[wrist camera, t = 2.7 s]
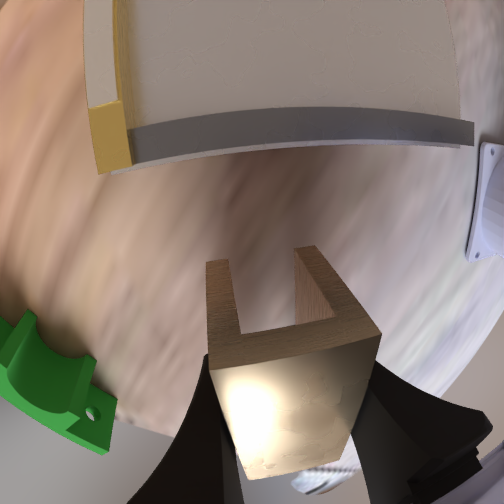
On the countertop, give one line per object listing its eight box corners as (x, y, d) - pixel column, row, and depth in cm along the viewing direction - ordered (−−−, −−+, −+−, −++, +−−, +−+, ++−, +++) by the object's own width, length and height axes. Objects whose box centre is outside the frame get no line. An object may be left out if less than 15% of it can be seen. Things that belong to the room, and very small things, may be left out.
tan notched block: (205, 261, 10) (208, 370, 6) (314, 245, 11) (382, 333, 6) (235, 395, 14) (248, 480, 9) (309, 381, 14) (339, 459, 10)
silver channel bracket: (422, -31, 7) (452, -42, 5) (447, 145, 12) (483, 154, 9) (106, -46, 6) (89, -73, 3) (118, 170, 10) (95, 185, 8)
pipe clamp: (137, 381, 16) (129, 442, 12) (111, 401, 17) (102, 455, 13) (-7, 273, 11) (-48, 321, 7) (-17, 309, 12) (-49, 354, 8)
